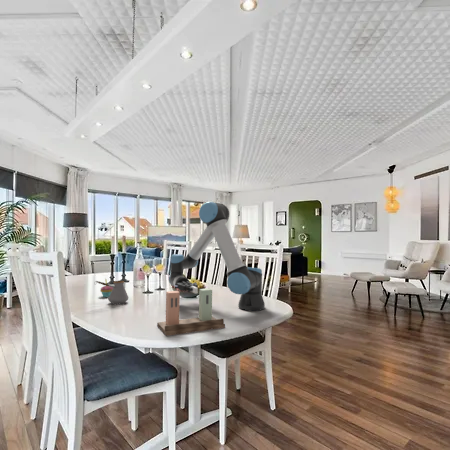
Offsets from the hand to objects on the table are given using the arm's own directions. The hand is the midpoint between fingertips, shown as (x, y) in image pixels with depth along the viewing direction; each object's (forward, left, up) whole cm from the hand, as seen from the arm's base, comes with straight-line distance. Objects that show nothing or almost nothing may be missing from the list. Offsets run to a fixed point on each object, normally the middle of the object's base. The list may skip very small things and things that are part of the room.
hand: (196, 290), depth 152 cm
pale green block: (0, +11, -12) cm, 16 cm away
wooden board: (+8, +14, -13) cm, 21 cm away
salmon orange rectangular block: (+16, +11, -12) cm, 23 cm away
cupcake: (+36, -71, -14) cm, 80 cm away
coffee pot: (+36, -46, -14) cm, 60 cm away
